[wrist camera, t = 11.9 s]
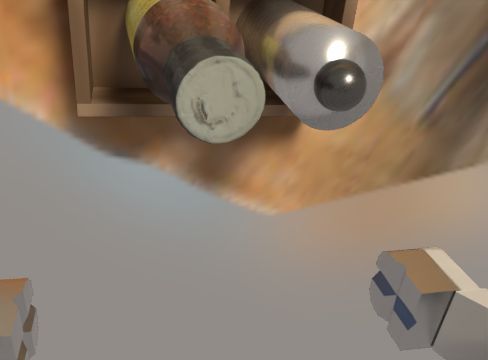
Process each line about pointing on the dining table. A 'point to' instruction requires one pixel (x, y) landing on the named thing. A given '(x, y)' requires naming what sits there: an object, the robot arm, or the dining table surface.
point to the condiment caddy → (124, 66)
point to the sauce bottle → (196, 66)
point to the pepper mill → (312, 62)
